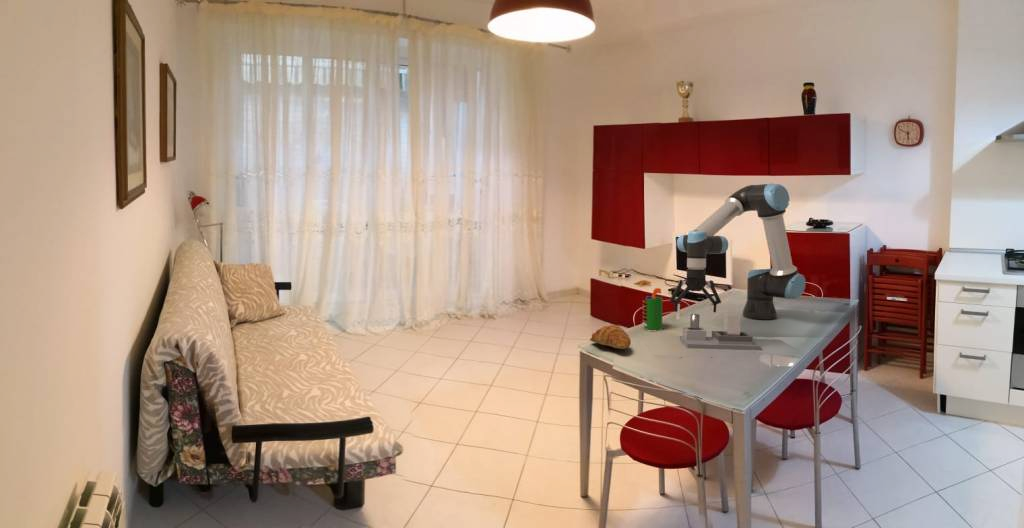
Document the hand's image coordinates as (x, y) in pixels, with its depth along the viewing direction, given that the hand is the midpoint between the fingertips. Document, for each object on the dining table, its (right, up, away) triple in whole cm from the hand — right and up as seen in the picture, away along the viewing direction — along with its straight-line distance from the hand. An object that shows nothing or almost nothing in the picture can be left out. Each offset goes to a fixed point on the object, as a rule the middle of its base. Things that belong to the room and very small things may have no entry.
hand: (694, 319), depth 258 cm
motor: (-13, -8, +23) cm, 27 cm away
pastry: (-35, -10, -7) cm, 37 cm away
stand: (+8, -10, -4) cm, 13 cm away
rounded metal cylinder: (0, -8, +1) cm, 8 cm away
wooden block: (+14, -7, -5) cm, 16 cm away
